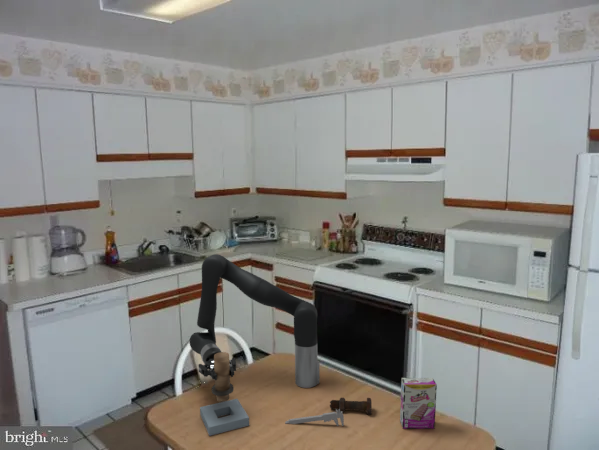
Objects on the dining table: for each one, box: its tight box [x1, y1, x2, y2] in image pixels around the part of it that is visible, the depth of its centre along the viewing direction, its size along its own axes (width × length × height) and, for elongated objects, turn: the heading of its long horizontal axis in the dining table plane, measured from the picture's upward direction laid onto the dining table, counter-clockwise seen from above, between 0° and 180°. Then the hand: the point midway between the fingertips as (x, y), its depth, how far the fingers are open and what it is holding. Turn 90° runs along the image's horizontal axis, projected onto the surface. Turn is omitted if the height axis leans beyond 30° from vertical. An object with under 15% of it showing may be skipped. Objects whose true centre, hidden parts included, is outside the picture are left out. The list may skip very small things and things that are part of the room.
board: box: [199, 398, 250, 436], centre depth 160 cm, size 14×14×3 cm
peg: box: [211, 351, 235, 402], centre depth 158 cm, size 8×8×16 cm
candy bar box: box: [399, 377, 438, 430], centre depth 154 cm, size 11×5×16 cm, turn 89°
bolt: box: [329, 397, 373, 416], centre depth 165 cm, size 6×5×15 cm
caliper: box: [284, 409, 345, 427], centre depth 156 cm, size 20×1×6 cm, turn 84°
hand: (224, 375), depth 155 cm, fingers closed on peg, 5 cm apart
